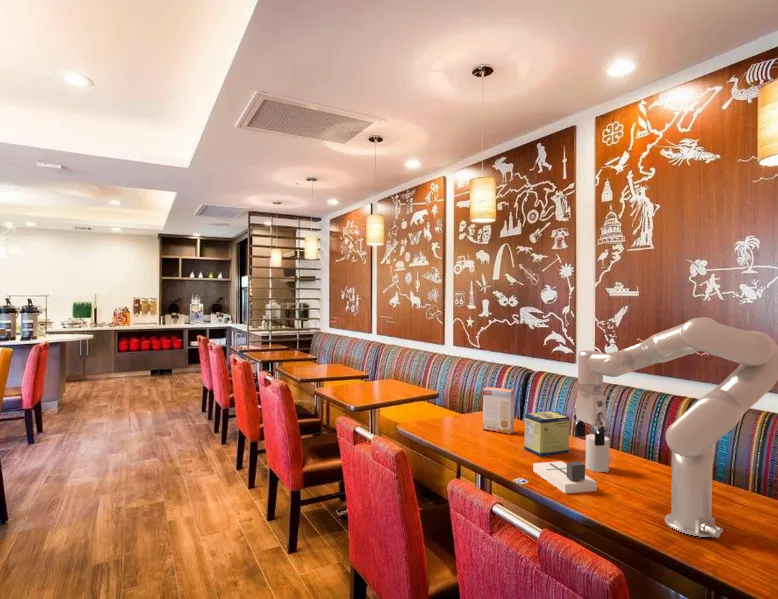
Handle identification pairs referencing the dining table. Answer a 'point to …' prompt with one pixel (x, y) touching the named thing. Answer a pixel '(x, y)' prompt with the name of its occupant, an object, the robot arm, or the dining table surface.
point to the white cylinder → (597, 455)
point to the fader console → (563, 477)
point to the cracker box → (498, 410)
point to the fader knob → (575, 471)
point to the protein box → (546, 433)
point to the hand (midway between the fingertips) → (589, 440)
